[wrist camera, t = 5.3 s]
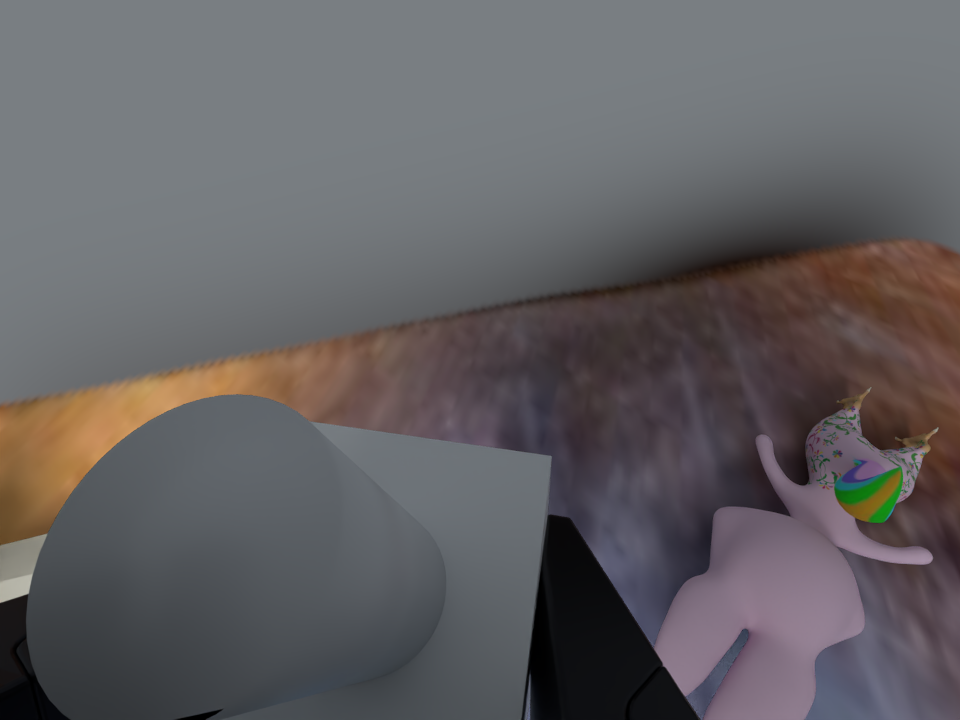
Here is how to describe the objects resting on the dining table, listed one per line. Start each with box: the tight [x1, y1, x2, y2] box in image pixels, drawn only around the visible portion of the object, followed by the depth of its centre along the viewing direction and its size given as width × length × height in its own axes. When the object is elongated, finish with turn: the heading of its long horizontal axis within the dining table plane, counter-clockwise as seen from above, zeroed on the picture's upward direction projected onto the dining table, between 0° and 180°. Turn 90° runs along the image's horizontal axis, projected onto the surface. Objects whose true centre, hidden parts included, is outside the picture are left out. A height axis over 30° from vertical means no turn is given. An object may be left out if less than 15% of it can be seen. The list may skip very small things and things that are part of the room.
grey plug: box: [26, 394, 552, 720], centre depth 8 cm, size 3×3×13 cm
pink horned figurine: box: [654, 387, 938, 720], centre depth 15 cm, size 6×6×15 cm
